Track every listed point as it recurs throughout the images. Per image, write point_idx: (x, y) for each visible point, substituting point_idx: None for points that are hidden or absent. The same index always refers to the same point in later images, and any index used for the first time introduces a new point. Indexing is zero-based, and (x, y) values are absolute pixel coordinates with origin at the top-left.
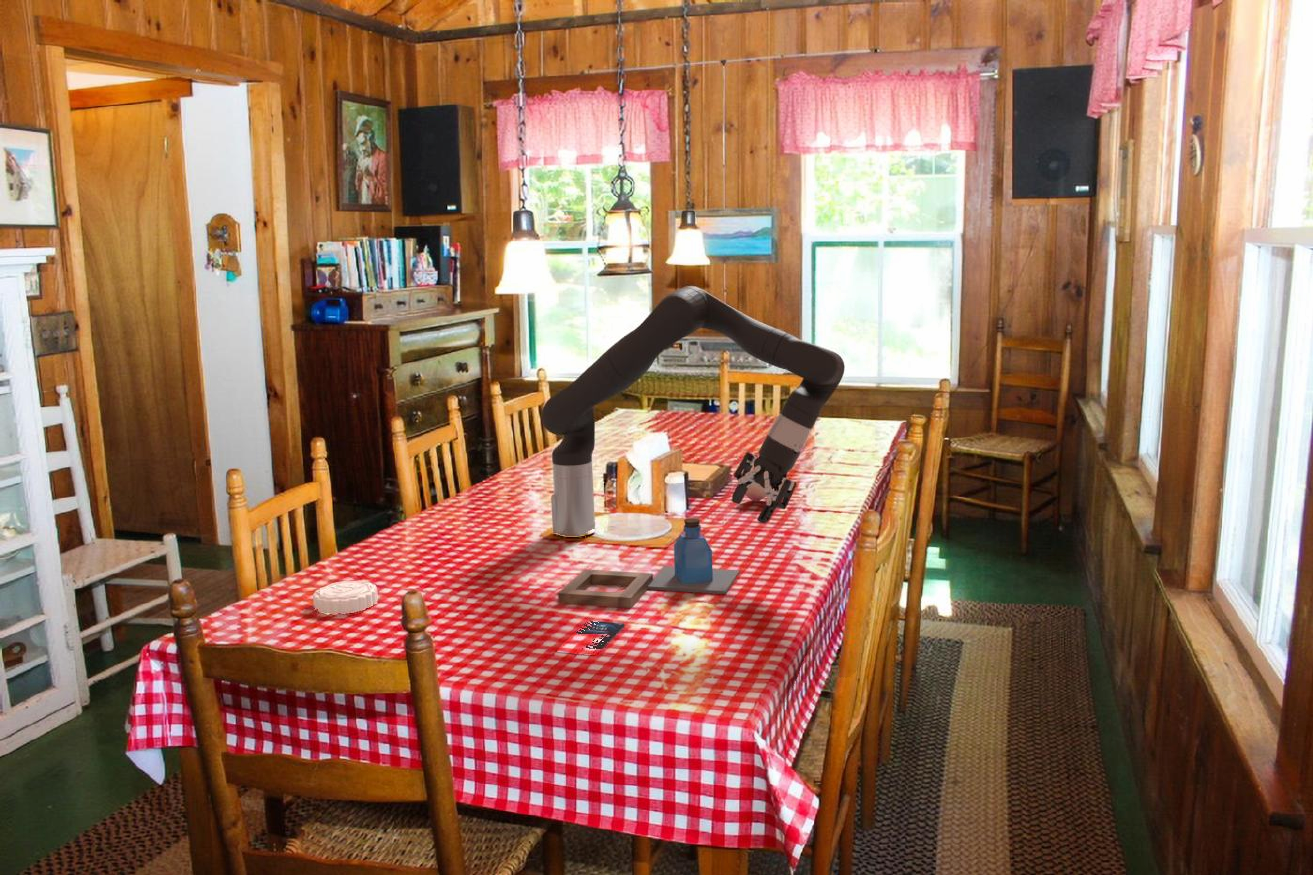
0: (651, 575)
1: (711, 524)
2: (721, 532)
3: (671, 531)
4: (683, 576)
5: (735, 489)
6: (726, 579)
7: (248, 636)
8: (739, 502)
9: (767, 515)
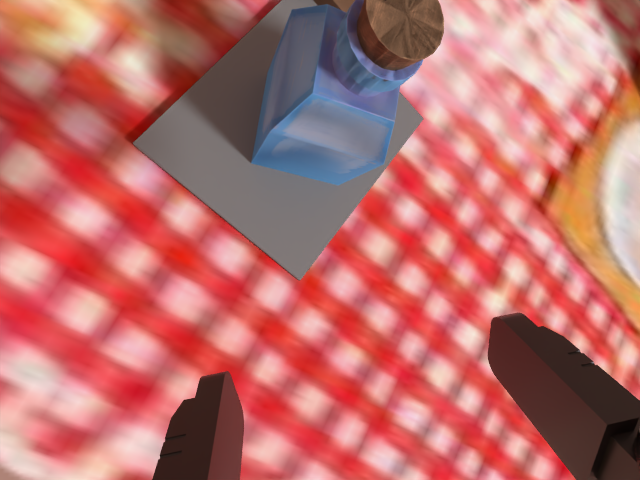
0: (336, 5)
1: (627, 376)
2: None
3: (620, 273)
4: (271, 63)
5: (604, 372)
6: (241, 205)
7: None
8: (493, 364)
9: (162, 459)
